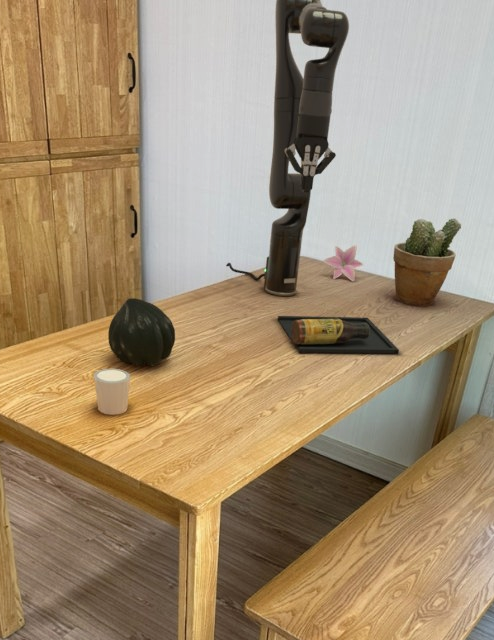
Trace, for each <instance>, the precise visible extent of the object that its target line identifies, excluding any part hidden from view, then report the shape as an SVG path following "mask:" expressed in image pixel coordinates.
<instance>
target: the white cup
mask: <svg viewBox="0 0 494 640" xmlns="http://www.w3.org/2000/svg"><path fill="white" fill-rule="evenodd" d="M93 381H94V389H95V394H96V402H97V403H96V404H97V409H98V411H99V412H100V413H101V414H105V415H111V416H115V415H121V414H124V413H125V412H127V410H128V405H129V396H130V395H129V394H130V384H131V383H130V382H131V374H130V373H129V372H127V371H126V370H123V369H118V368H104V369H100V370H97V371H95V372H94V373H93Z"/></svg>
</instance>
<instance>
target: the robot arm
mask: <svg viewBox="0 0 494 640" xmlns="http://www.w3.org/2000/svg"><path fill="white" fill-rule="evenodd" d="M274 14H275V81H274V96H273V98H274V100H273V141H272V142H273V143H272V145H273V146H272V154H271V155H272V156H271V166H270V175H269V185H268V186H269V187H268V194H269V201H270V204H271V206H272V207H273V208H274V209H276V210H287V211H286V212H285V214H284V215H282V216H281V217H279V218H277V219H275V220H273V222H272V223H271V230H270V241H269V242H270V243H269V250H268V256H267V257H266V261H265V269H264V273H262V274H260V275H259V276H258V277H257V276H256V275H255V274H253V273H252V272H250V271H244V270H241V269H235V268H233V266H232V263H231V262H227V264H226V265H225V266H226V267H229V269H230V270H231V271H232V272H235V273H237V274H242V275H243V274H244V275H248V276H251V278H253V280H255V281H259V280H261V279H262V278H263V279H264V283H263V289H264V290H265V292H266V293H267V294H270V295H273V296H279V297H292V296H295V295H296V294H297V287H298V286H297V285H298V276H299V269H300V260H301V251H302V243H303V236H304V235H303V234H304V230H305V227H306V224H307V218H308V212H309V207H310V201H311V192H312V190H313V187H314V178H315V176H317V175H321V174H322V173H323V172H324V171H325V169H327V167H328V166H329V165H330V164H331V162H332V161H334V159H335V158H336V157H337V154H336V153H335V152H334V151H333V150H331V148H330V147H329V146H330V145H329V144H330V143H329V140H328V139H329V131H330V123H331V115H332V111H333V109H332V108H333V91H334V85H335V84H334V83H335V76H336V70H337V67H338V63H339V60H340V57H341V54H342V51H343V49H344V46H345V43H346V41H347V37H348V35H349V32H350V21H349V18H348V16H347V14H346V13H345V12H344V11H340V10H331V9H327V8H326V7H325V6H323V4H322V1H321V0H275V13H274ZM290 34H295V35H296V34H297V35H300V37H301V40H302V42H303V44H304V45H306V46H308V47H312V48H313V47H314V48H324V49H328V50H327V53H326V54H325V55H324V56H323V57H321V58H314V59H310V60H308V61H306V62H305V66H304V70H303V75H302V73H301V71H300V69H299V67H298V65H297V63H296V60H295V58H294V54H293V52H292V47H291V42H290ZM296 152H297V154H298V157H299V158H300V164H299V162H298V160H297V158H296V157H295V156H296ZM322 157H323V158H322ZM321 158H322V160H321V161H320V162H319V163H318V161H319V160H320V159H321ZM289 165H291V166H292V169H293V170H294V171H295V172H296V173H294V172H292V173H291V172H289Z"/></svg>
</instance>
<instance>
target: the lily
mask: <svg viewBox="0 0 494 640" xmlns="http://www.w3.org/2000/svg"><path fill="white" fill-rule="evenodd" d="M357 249H358V246H357V245H356V244H354V245H352V246H350V247H349V248H347V249H346V250H345V251H344V250H343V249H342V248H341V247H339V246H337V245H335V247H334V251H335V252H334V253H335V255H333V256H329V257H327V258H325V259H323V262H324V263H325V264H326V265H329V266H331V267H332V268H334V271H333V276H332V278H333V280H336V279H338V278H339V277H340V276H342V275H344V276H345V277H347V278H348V279H349V280H350V281H351V282H355V278H356V275H355V274H356V273H355V269H356V268H357V269H358V268H360V267H363V266H364V263H362V262H361V261H359V260H358V259H356V255H357Z"/></svg>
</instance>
